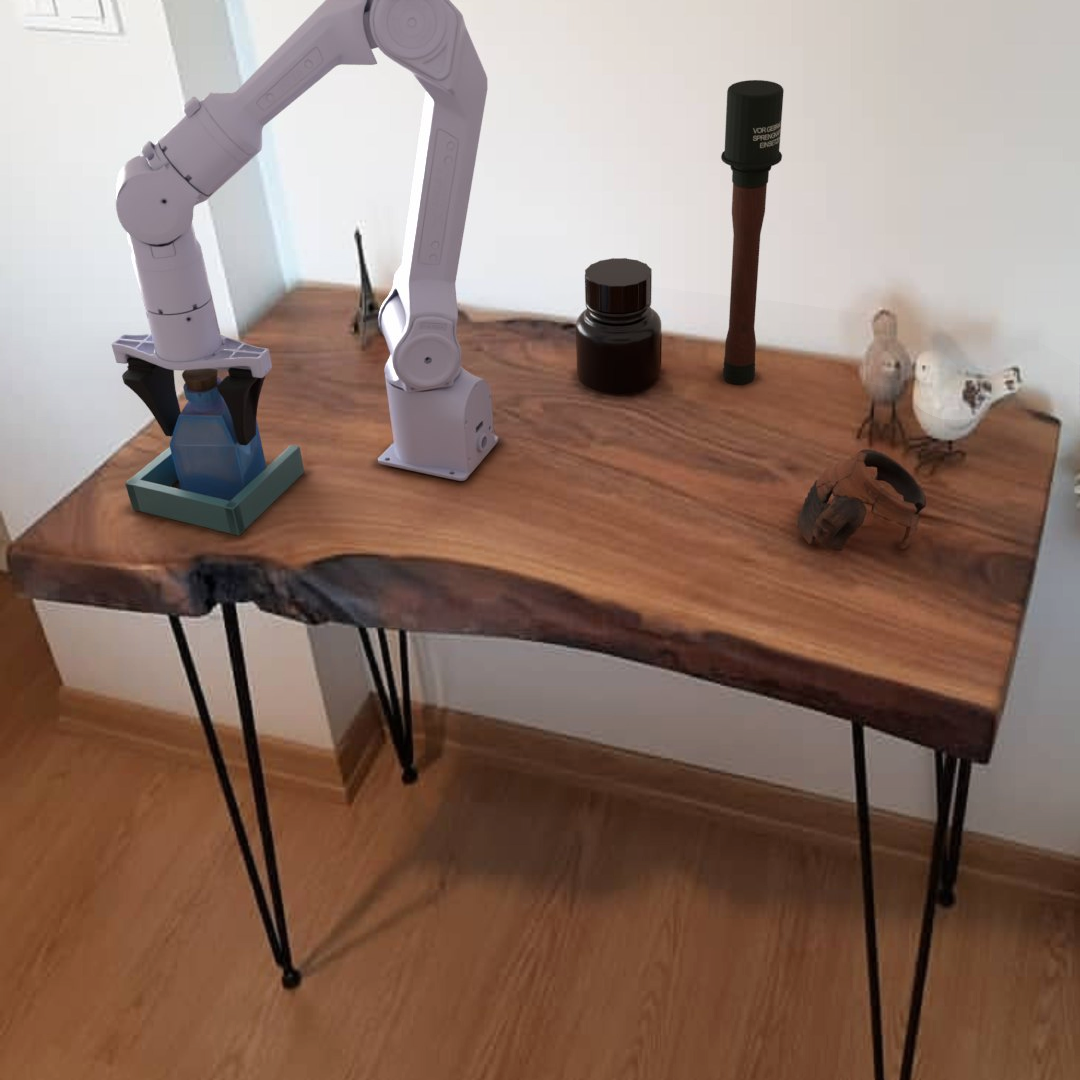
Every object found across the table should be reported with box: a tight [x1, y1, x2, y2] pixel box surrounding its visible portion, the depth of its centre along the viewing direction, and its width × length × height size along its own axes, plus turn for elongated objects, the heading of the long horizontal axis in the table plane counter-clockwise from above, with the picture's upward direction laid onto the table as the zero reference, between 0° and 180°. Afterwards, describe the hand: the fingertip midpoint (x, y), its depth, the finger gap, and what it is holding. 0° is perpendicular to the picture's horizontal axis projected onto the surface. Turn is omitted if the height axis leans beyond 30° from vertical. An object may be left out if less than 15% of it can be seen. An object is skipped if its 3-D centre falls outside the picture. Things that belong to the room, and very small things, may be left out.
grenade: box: [720, 79, 785, 385], centre depth 121 cm, size 6×6×30 cm
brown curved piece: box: [797, 449, 927, 552], centre depth 104 cm, size 12×10×8 cm
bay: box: [124, 444, 305, 536], centre depth 116 cm, size 12×11×3 cm
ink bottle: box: [575, 257, 663, 396], centre depth 127 cm, size 10×9×12 cm
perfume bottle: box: [169, 369, 267, 501], centre depth 114 cm, size 6×6×12 cm
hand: (210, 435), depth 113 cm, fingers open, 7 cm apart
